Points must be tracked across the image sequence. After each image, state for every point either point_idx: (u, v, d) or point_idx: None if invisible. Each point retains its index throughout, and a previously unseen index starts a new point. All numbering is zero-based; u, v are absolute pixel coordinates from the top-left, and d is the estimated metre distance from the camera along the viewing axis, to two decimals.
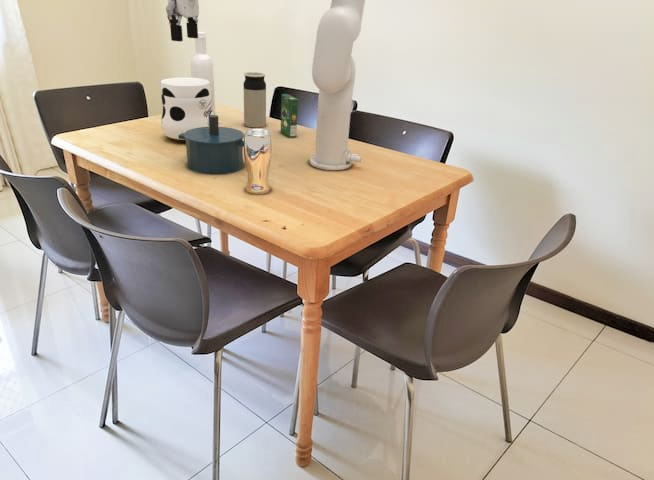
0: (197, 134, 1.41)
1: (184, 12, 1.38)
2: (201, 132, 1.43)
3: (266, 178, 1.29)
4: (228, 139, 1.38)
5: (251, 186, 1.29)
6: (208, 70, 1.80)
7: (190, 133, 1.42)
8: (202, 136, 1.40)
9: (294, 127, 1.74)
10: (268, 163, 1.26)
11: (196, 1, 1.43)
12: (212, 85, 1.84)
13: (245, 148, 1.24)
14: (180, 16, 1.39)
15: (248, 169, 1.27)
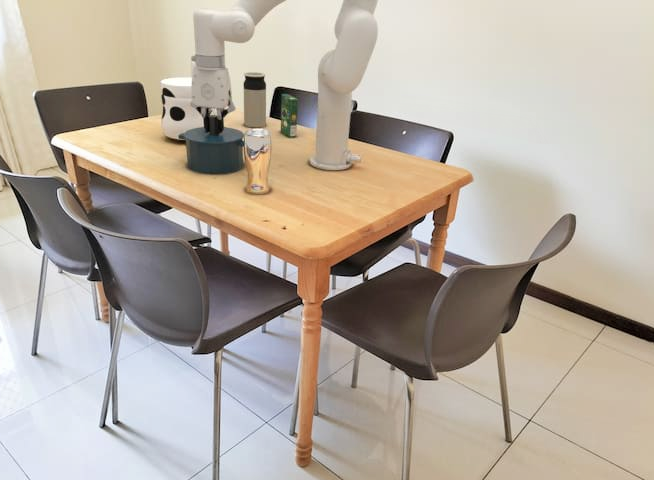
0: (197, 134, 1.41)
1: (193, 101, 1.36)
2: (201, 132, 1.43)
3: (266, 178, 1.29)
4: (228, 139, 1.38)
5: (251, 186, 1.29)
6: None
7: (190, 133, 1.42)
8: (202, 136, 1.40)
9: (294, 127, 1.74)
10: (268, 163, 1.26)
11: (219, 94, 1.34)
12: None
13: (245, 148, 1.24)
14: (202, 108, 1.38)
15: (248, 169, 1.27)
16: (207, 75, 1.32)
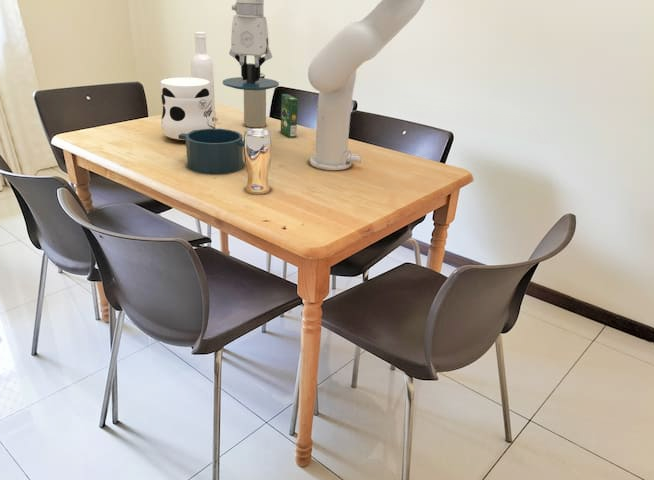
0: (235, 82, 1.49)
1: (232, 48, 1.44)
2: (238, 80, 1.51)
3: (266, 178, 1.29)
4: (265, 85, 1.47)
5: (251, 186, 1.29)
6: (208, 70, 1.80)
7: (228, 81, 1.50)
8: (240, 83, 1.48)
9: (294, 127, 1.74)
10: (268, 163, 1.26)
11: (257, 41, 1.42)
12: (212, 85, 1.84)
13: (245, 148, 1.24)
14: (241, 56, 1.46)
15: (248, 169, 1.27)
16: (247, 23, 1.40)
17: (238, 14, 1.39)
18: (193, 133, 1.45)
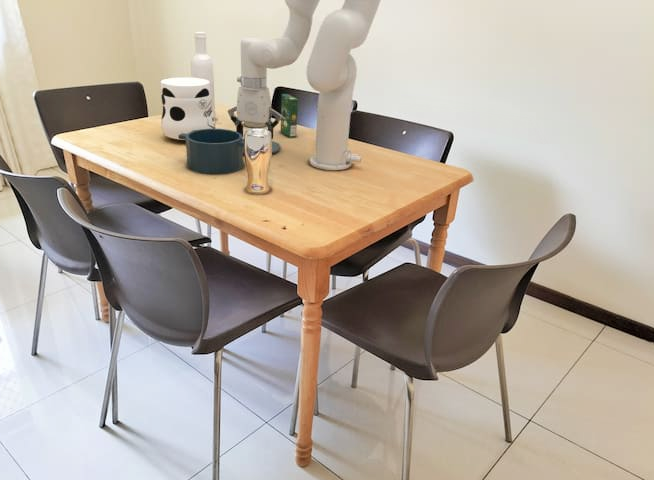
0: None
1: (238, 116, 1.55)
2: None
3: (266, 178, 1.29)
4: None
5: (251, 186, 1.29)
6: (208, 70, 1.80)
7: None
8: None
9: (294, 127, 1.74)
10: (268, 163, 1.26)
11: (261, 110, 1.53)
12: (212, 85, 1.84)
13: (245, 148, 1.24)
14: None
15: (248, 169, 1.27)
16: (252, 94, 1.51)
17: (243, 87, 1.50)
18: (193, 133, 1.45)
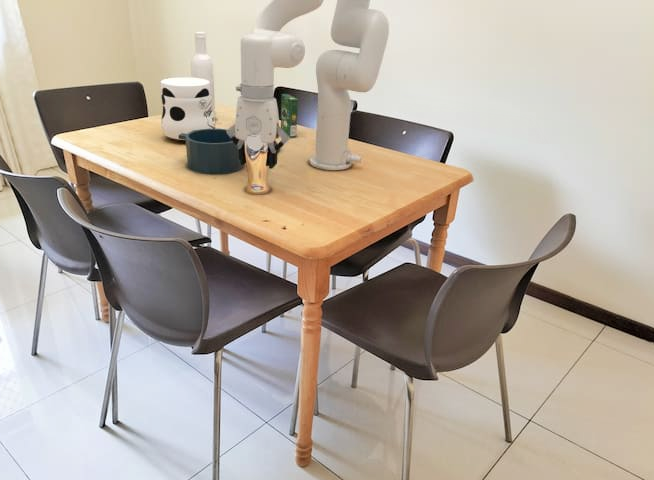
0: None
1: (237, 134, 1.23)
2: None
3: (266, 178, 1.29)
4: None
5: (251, 186, 1.29)
6: (208, 70, 1.80)
7: None
8: None
9: (294, 127, 1.74)
10: (268, 163, 1.26)
11: (266, 127, 1.20)
12: (212, 85, 1.84)
13: (245, 148, 1.24)
14: (241, 139, 1.25)
15: (248, 169, 1.27)
16: (254, 107, 1.18)
17: (243, 97, 1.18)
18: (193, 133, 1.45)
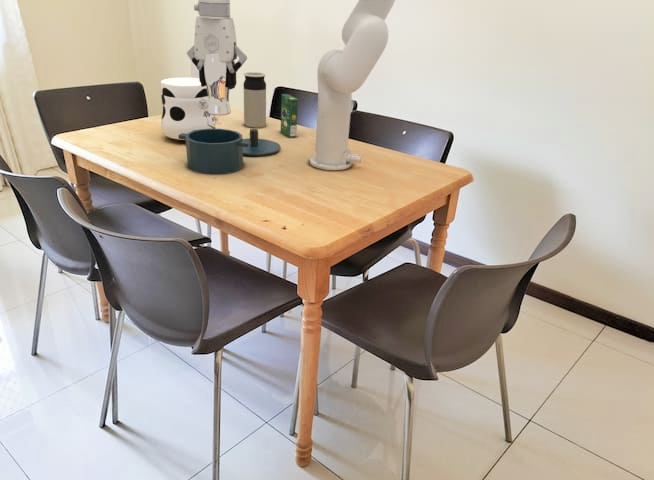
0: None
1: (196, 54, 1.28)
2: None
3: (226, 100, 1.34)
4: (267, 150, 1.58)
5: (211, 107, 1.34)
6: None
7: None
8: (244, 148, 1.59)
9: (294, 127, 1.74)
10: (227, 84, 1.31)
11: (223, 46, 1.25)
12: None
13: (204, 68, 1.29)
14: (201, 60, 1.30)
15: (208, 90, 1.32)
16: (211, 25, 1.24)
17: (201, 15, 1.23)
18: (193, 133, 1.45)
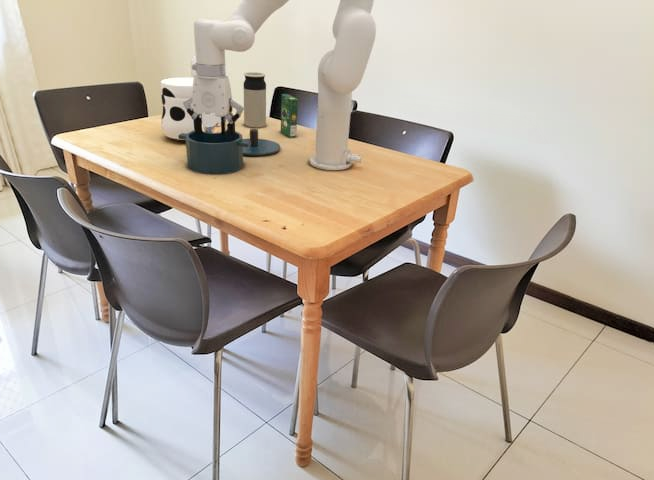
0: None
1: (194, 109, 1.37)
2: None
3: None
4: (267, 150, 1.58)
5: None
6: None
7: None
8: (244, 148, 1.59)
9: (294, 127, 1.74)
10: (223, 138, 1.41)
11: (219, 102, 1.35)
12: None
13: (202, 125, 1.39)
14: None
15: None
16: (208, 84, 1.33)
17: (198, 75, 1.32)
18: (193, 133, 1.45)
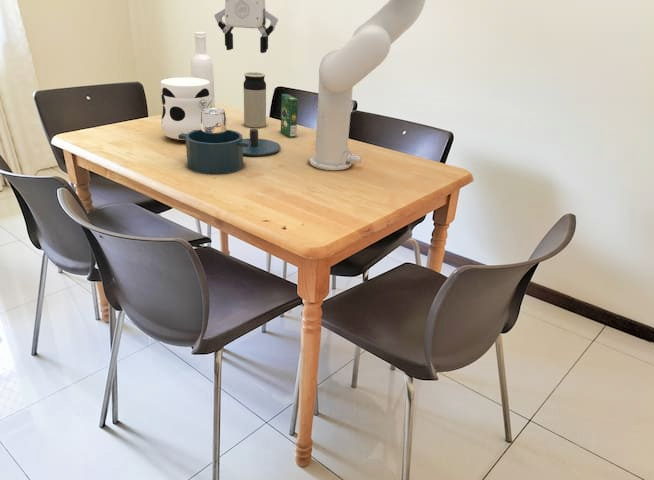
0: None
1: (226, 20, 1.32)
2: None
3: None
4: (267, 150, 1.58)
5: None
6: (208, 70, 1.80)
7: None
8: (244, 148, 1.59)
9: (294, 127, 1.74)
10: (223, 138, 1.41)
11: (253, 12, 1.29)
12: (212, 85, 1.84)
13: (202, 125, 1.39)
14: None
15: None
16: None
17: None
18: (193, 133, 1.45)
